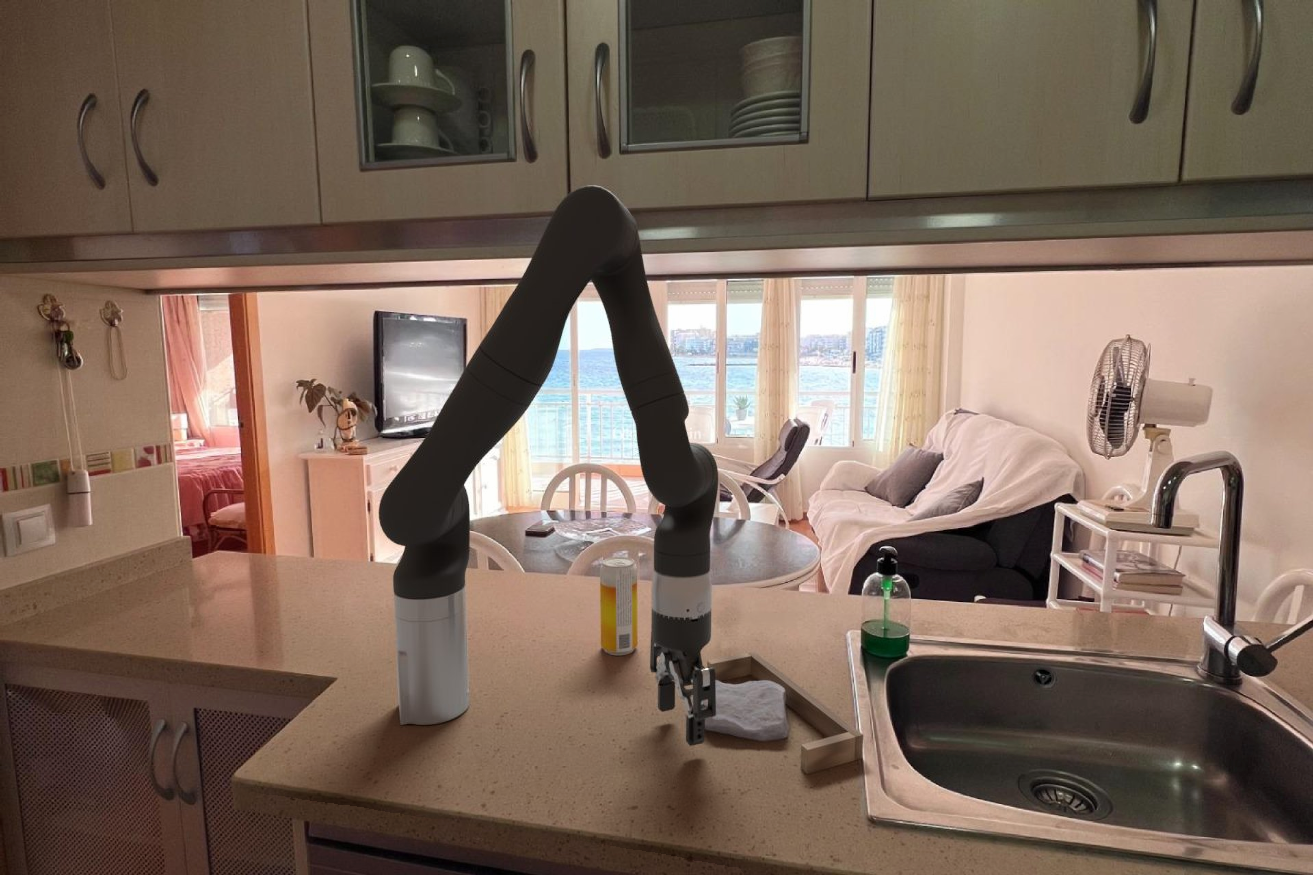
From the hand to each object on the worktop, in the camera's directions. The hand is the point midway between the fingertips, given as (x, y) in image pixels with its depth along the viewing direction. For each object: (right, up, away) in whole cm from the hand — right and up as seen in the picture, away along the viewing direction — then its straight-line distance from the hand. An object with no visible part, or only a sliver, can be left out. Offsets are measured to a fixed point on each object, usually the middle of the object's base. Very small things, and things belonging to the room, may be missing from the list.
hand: (680, 725), depth 86 cm
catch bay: (+13, -1, +5) cm, 14 cm away
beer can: (-9, +1, +26) cm, 28 cm away
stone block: (+9, -2, +4) cm, 9 cm away
